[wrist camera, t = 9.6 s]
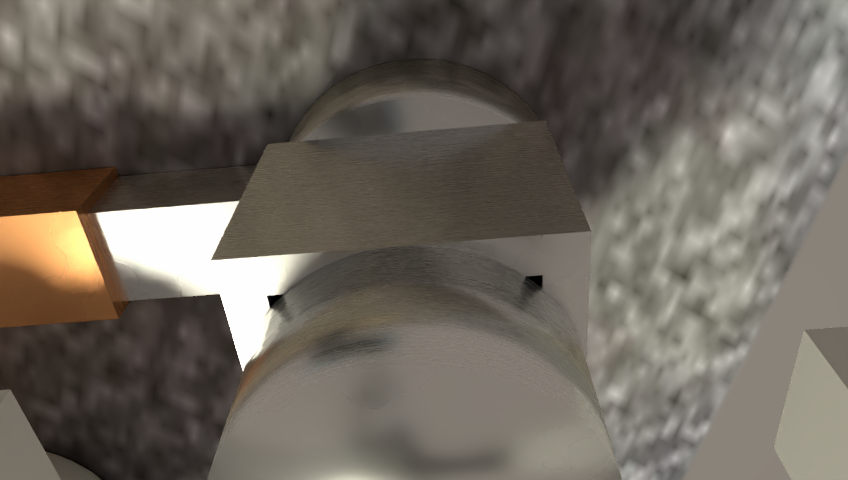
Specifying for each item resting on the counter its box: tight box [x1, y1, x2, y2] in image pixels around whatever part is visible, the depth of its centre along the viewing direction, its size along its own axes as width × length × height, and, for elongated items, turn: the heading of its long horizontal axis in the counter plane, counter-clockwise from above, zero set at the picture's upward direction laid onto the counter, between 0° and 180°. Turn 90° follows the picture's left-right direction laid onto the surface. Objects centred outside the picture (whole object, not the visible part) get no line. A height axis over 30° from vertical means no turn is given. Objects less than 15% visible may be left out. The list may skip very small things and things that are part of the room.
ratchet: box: [0, 59, 540, 328], centre depth 18 cm, size 8×22×6 cm, turn 95°
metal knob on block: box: [207, 120, 622, 480], centre depth 14 cm, size 6×6×8 cm
